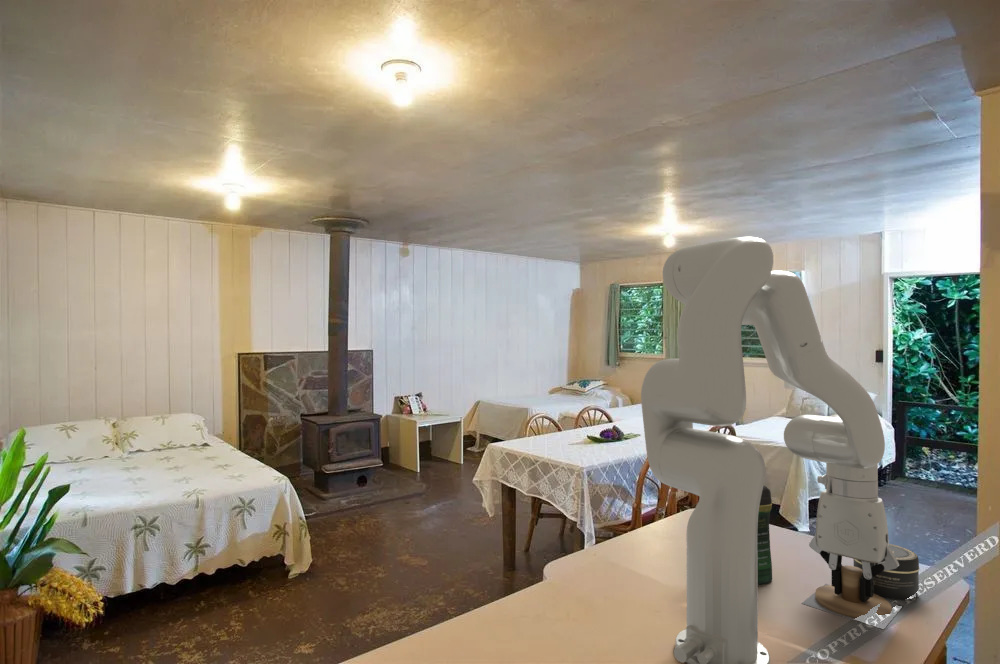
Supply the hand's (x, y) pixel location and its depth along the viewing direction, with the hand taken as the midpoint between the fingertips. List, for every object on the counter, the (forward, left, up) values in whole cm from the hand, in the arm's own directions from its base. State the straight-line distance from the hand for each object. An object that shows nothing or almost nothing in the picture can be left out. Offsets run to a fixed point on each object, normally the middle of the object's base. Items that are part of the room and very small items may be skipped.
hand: (852, 594), depth 96 cm
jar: (+12, -2, -3) cm, 12 cm away
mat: (0, 0, -2) cm, 2 cm away
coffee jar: (-1, +18, -2) cm, 18 cm away
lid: (0, 0, -2) cm, 2 cm away
